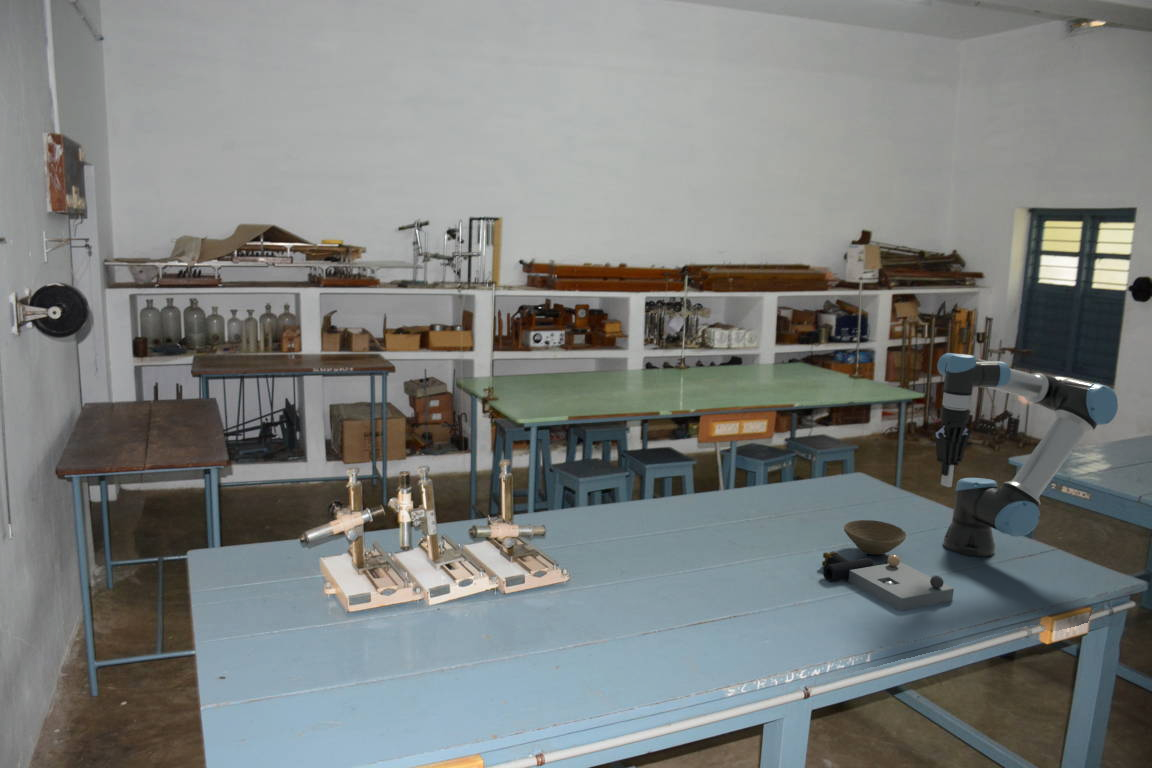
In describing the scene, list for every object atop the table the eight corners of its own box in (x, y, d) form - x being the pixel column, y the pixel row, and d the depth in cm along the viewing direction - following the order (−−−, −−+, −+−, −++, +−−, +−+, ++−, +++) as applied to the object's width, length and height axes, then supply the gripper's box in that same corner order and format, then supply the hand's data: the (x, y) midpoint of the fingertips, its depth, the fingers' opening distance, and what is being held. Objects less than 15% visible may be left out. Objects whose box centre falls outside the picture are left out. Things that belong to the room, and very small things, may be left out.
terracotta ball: (893, 563, 252) (894, 552, 252) (901, 567, 249) (903, 556, 249) (884, 564, 251) (885, 553, 250) (892, 569, 248) (894, 558, 247)
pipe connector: (809, 553, 254) (848, 546, 260) (807, 569, 255) (846, 563, 261) (835, 568, 244) (875, 561, 250) (833, 585, 245) (873, 578, 251)
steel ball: (890, 584, 242) (885, 576, 241) (899, 588, 239) (894, 581, 238) (883, 592, 242) (878, 585, 240) (892, 597, 238) (886, 590, 237)
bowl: (838, 557, 264) (841, 533, 263) (844, 538, 281) (846, 515, 280) (902, 568, 258) (905, 543, 256) (904, 548, 275) (907, 524, 273)
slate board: (898, 572, 254) (899, 561, 254) (952, 600, 237) (953, 588, 236) (848, 581, 247) (849, 570, 246) (900, 610, 229) (901, 598, 228)
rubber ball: (935, 584, 238) (937, 573, 237) (945, 589, 235) (947, 577, 234) (926, 586, 237) (928, 574, 236) (936, 591, 234) (937, 579, 233)
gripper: (961, 403, 255) (952, 480, 259) (929, 406, 249) (919, 483, 254) (982, 409, 248) (972, 487, 252) (949, 411, 243) (940, 491, 247)
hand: (946, 485), depth 253 cm, fingers closed
